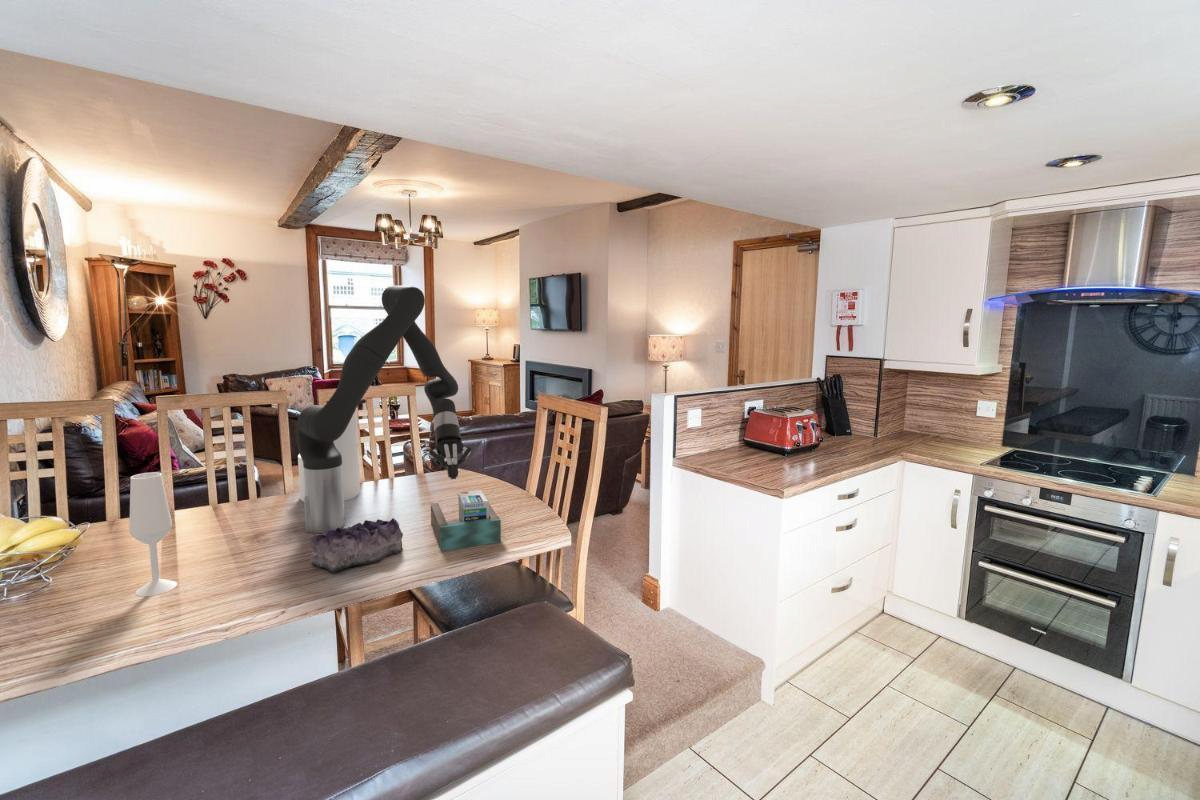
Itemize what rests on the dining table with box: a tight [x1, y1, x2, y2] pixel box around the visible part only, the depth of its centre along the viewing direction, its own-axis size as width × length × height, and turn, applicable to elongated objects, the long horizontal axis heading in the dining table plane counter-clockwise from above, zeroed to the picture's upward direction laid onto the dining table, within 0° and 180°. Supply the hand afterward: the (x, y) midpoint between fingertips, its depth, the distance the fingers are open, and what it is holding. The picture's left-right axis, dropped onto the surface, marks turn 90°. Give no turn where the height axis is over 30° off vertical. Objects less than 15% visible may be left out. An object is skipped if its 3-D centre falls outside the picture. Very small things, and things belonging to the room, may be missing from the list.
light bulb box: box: [457, 489, 490, 522], centre depth 141 cm, size 11×7×11 cm, turn 22°
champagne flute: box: [128, 471, 178, 597], centre depth 108 cm, size 7×7×24 cm
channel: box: [430, 502, 502, 552], centre depth 143 cm, size 15×19×6 cm
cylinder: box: [297, 407, 361, 503], centre depth 170 cm, size 17×17×28 cm
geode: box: [309, 517, 404, 572], centre depth 126 cm, size 20×12×10 cm, turn 134°
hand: (453, 477), depth 157 cm, fingers closed
